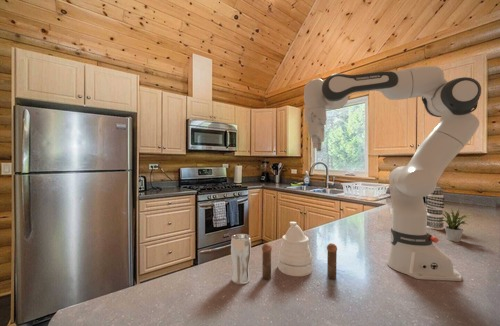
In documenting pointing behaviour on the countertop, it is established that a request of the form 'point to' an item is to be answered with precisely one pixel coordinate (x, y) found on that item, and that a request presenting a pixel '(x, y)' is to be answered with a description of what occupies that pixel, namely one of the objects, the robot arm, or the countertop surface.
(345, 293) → the countertop surface
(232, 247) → the beer glass
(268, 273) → the post
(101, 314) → the countertop surface
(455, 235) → the house plant
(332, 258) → the post
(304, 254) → the honey pot
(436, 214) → the decorative candle
